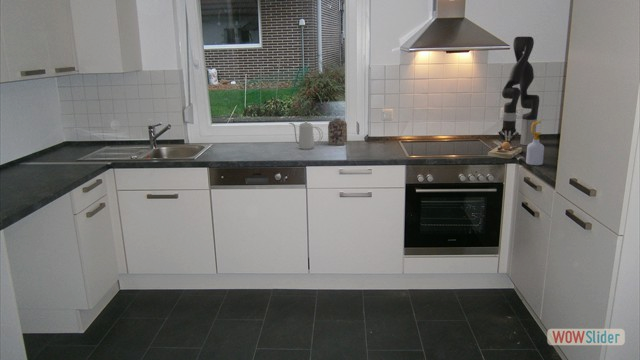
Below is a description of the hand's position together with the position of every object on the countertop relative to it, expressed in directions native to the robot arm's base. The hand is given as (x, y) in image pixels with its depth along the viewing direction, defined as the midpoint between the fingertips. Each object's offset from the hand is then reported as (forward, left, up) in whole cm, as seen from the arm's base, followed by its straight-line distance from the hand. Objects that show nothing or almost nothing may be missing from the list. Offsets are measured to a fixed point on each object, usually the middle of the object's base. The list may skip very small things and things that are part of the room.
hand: (507, 146), depth 330 cm
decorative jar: (+28, -111, -4) cm, 114 cm away
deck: (+5, 0, -4) cm, 6 cm away
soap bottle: (+23, +22, -4) cm, 32 cm away
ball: (+4, 0, +1) cm, 4 cm away
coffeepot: (+51, -122, -4) cm, 132 cm away
